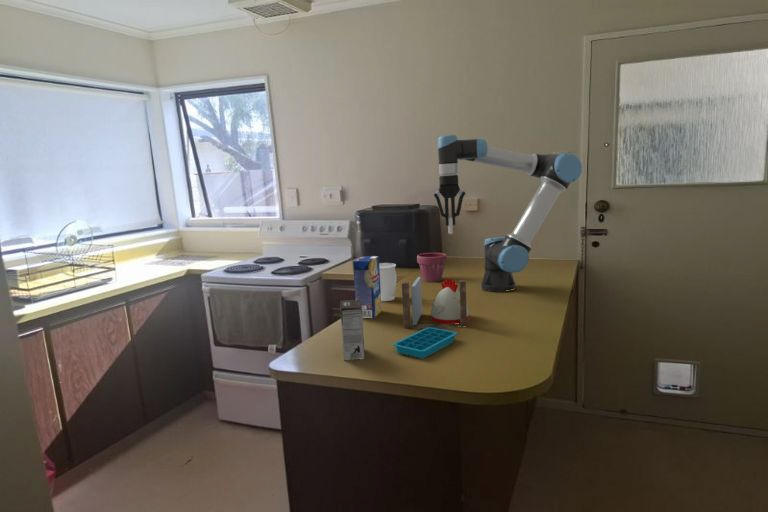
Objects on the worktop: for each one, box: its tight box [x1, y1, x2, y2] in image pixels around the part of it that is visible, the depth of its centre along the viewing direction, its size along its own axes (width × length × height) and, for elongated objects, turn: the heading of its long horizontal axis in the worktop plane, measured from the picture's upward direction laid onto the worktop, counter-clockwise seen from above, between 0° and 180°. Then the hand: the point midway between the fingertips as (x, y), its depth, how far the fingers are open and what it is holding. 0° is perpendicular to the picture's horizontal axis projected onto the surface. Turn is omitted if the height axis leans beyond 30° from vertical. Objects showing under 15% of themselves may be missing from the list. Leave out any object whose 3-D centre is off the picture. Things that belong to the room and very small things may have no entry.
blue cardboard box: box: [352, 255, 383, 319], centre depth 194 cm, size 7×11×22 cm, turn 164°
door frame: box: [401, 279, 468, 330], centre depth 176 cm, size 22×4×16 cm, turn 86°
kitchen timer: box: [430, 277, 470, 324], centre depth 185 cm, size 14×14×15 cm
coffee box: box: [339, 299, 365, 361], centre depth 153 cm, size 9×6×16 cm
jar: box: [379, 262, 398, 302], centre depth 217 cm, size 11×10×15 cm
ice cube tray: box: [392, 327, 458, 359], centre depth 158 cm, size 12×20×3 cm, turn 141°
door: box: [410, 276, 423, 325], centre depth 185 cm, size 15×3×14 cm, turn 168°
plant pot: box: [416, 252, 447, 283], centre depth 249 cm, size 14×14×13 cm
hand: (450, 233), depth 207 cm, fingers closed
